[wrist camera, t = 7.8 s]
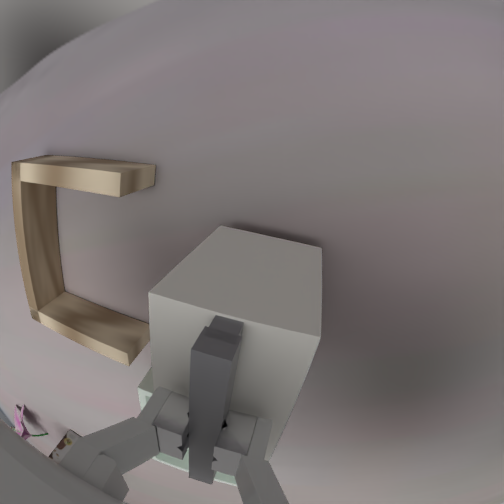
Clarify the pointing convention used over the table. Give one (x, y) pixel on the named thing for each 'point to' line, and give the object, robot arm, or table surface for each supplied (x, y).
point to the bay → (48, 255)
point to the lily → (22, 425)
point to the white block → (236, 333)
